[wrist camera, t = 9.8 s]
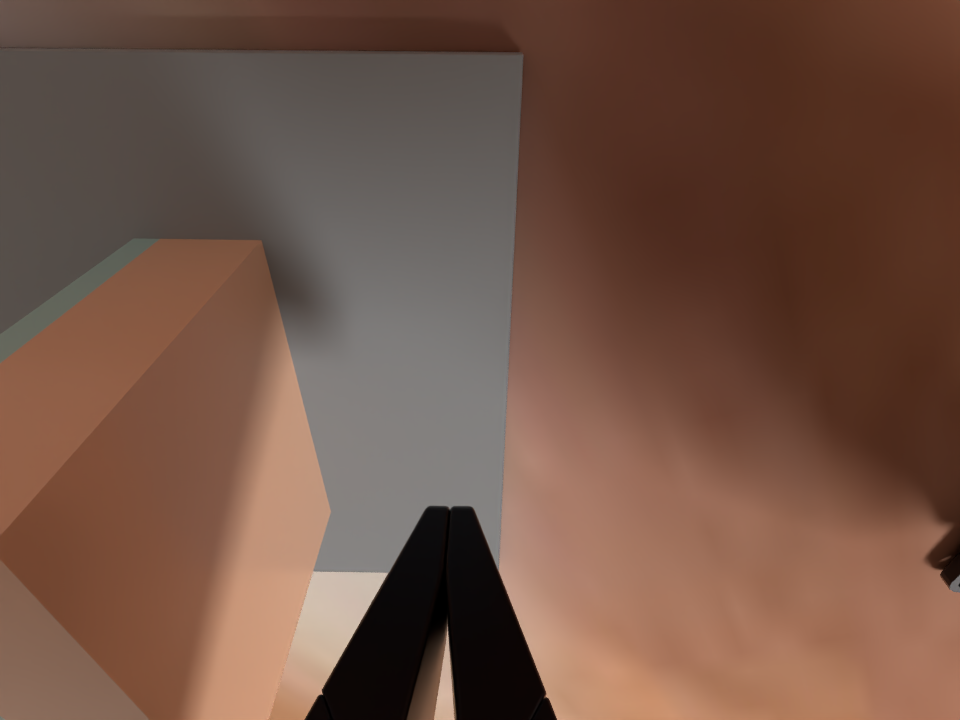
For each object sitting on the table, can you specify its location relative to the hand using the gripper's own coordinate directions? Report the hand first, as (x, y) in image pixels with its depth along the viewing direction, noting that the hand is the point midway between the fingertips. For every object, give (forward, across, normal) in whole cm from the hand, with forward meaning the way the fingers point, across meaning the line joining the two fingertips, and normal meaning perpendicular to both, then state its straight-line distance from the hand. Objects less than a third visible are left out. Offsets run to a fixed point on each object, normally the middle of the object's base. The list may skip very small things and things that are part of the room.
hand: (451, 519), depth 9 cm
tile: (+3, +5, 0) cm, 6 cm away
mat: (+4, +7, 0) cm, 8 cm away
